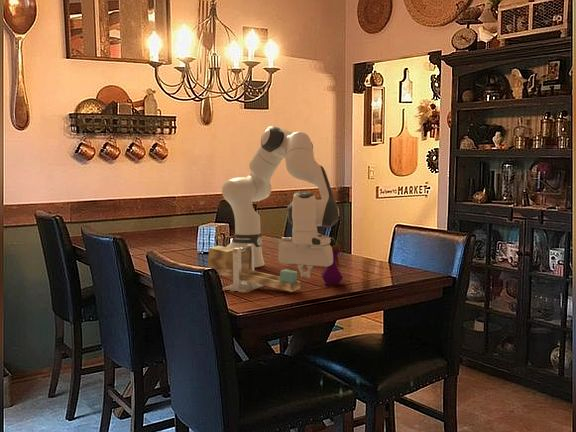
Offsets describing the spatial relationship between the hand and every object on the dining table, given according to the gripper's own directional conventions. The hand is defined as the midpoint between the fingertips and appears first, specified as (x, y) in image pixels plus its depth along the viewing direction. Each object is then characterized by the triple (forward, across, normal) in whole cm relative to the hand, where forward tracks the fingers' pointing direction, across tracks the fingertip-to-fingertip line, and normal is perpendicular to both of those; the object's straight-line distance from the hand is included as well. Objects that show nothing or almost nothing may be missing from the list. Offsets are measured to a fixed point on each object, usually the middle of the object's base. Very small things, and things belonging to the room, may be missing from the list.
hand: (305, 277), depth 232 cm
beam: (+3, -22, 0) cm, 22 cm away
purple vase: (+6, +2, +19) cm, 20 cm away
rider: (+3, -7, 0) cm, 8 cm away
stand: (+6, -25, 0) cm, 26 cm away
